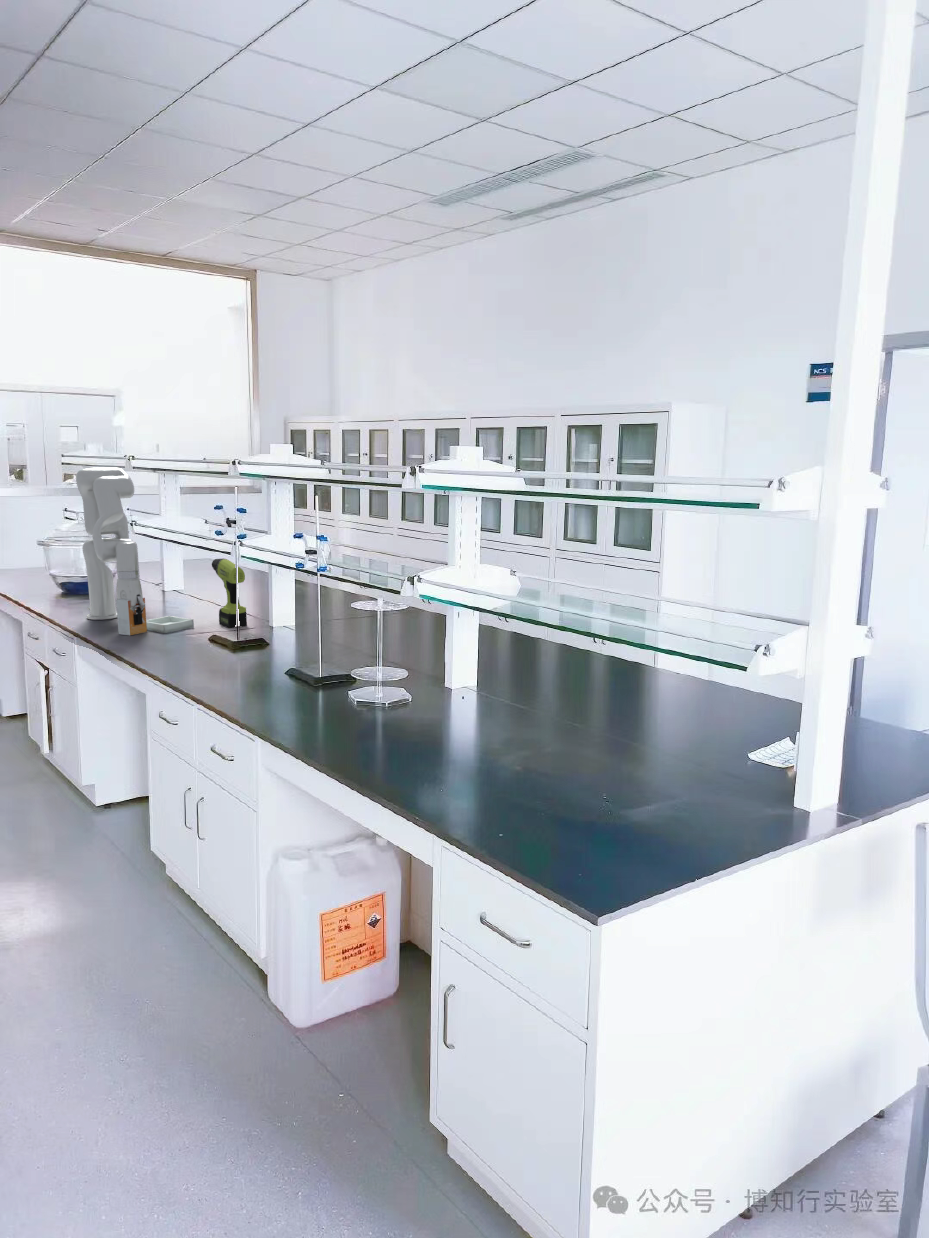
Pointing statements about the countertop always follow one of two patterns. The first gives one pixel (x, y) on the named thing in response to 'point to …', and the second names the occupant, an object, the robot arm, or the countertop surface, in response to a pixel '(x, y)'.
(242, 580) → the cordless drill
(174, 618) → the tray
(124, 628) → the small box
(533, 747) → the countertop surface
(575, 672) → the countertop surface
